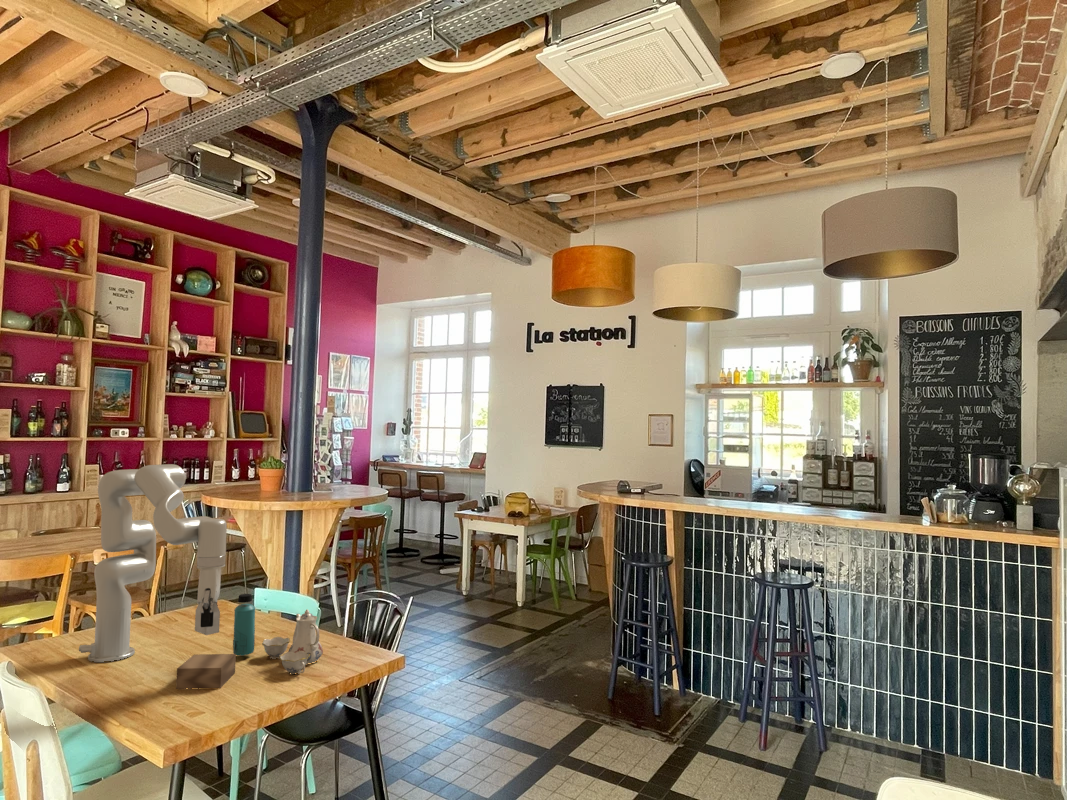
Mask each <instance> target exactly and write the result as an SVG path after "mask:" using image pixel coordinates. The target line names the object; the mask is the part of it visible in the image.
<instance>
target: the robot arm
mask: <svg viewBox="0 0 1067 800" xmlns="http://www.w3.org/2000/svg"><path fill="white" fill-rule="evenodd" d="M185 483H186V473H185V471H184V469H183V468H182V467H181V466H179V465H177V464H173V463H172V464H171V463H168V464H148V465H144V466H142V467H140V468H139V469H138V468H136V469H135V468H134V469H131V468H129V469H128V468H127V469H117V470H112V471H108V472H106V473H105V474H104V475H102V477H101V478H100V480H99V481H98V485H97V487H98V488H97V495H98V500H99V503H100V509H101V514H100V515H101V516H100V517H101V518H100V522H101V523H100V543H101V548H102V550H103V551H104V552H107V553H118V552H119V553H120V552H126V551H133V553H129V554H121V555H115V556H111V557H107V558H104V559H102V560H100V561H99V562H98V563H97V564H96V565H95V567H94V570H93V571H94V572H93V573H94V575H93V576H94V582H95V587H96V588H95V589H96V606H95V608H96V609H95V610H96V611H95V628H94V630H95V631H94V643H93V642H92V643H91V644H80V645H79V647H78V651H79V652H80V653H82V654H83V653H89V654H88V656H87V660H88V661H90V662H92V661H94V662H93V663H105V662H104V661H111V662H115V661H114V660H117V661H121V660H125V659H127V657H128V658H130V657H131V656H133V655H135V651H136V650H135V648H134V647H131V646H130V639H131V623H132V622H131V619H132V618H131V616H132V596H131V594H130V592H129V591H128V590H127V589H126V586H127V585H130V584H135V583H140V582H144V581H147V580H150V579H151V578H152V577H153V575H154V574H155V570H156V566H157V565H156V563H157V555H156V554H157V533H158V534H159V535H160V536H161V538H162V539H163V541H165V542H167V543H168V544H170V545H172V546H180V545H187V544H193V543H197V553H196V555H197V556H196V569H198V570H199V576H198V577H199V578H198V584H197V585H198V586H197V598H196V599H197V600H196V601H197V602H196V603H197V605H198V604H200V603H201V602H202V601H203V603H202V611H201V627H212V626H213V614H214V612H212V611H213V603H214V602H216V604H217V606H218V607H219V605H218V599H219V598H220V591H221V581H222V580H221V578H222V577H221V576H222V568H224V567H226V558H227V557H226V556H227V555H226V553H227V532H228V531H227V521H226V520H225V519H223V518H214V517H211V516H206V515H203V516H191V517H183V518H176V517H175V516H174V515H173V514H172V513H171V512H173V511H175V510H176V509H177V508H178V507H180V505H181V504H182V503H183V500H184V499H185V495H184V492H183V490H182V489H181V488H182V487H183V486H184V485H185ZM128 496H130V497H131V496H132V497H133V496H145V497H146V499H147V500H149V502H150V503H151V504H152V505H153V506H154V511H153V514H152V519H153V523H152V522H151V521H150V520H147V519H136V520H135V519H134V520H133V506H132V504H131V502H130V501H129V500H128V498H127V497H128ZM209 600H212V601H209ZM209 604H211V606H210V605H209ZM124 658H125V659H124ZM120 659H121V660H120Z"/></svg>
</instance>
